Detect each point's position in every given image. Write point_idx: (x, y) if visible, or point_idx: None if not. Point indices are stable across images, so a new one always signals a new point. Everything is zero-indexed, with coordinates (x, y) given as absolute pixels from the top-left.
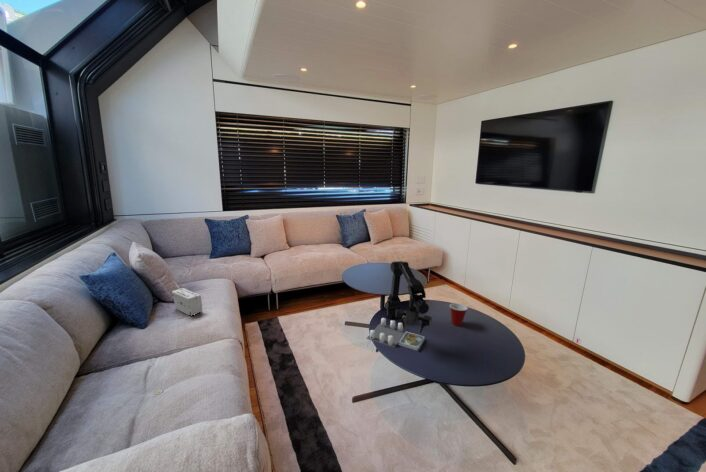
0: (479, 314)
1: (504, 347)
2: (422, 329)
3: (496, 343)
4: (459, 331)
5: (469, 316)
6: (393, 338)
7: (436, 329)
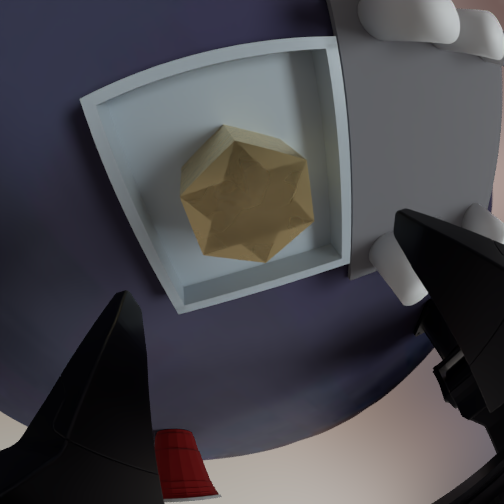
0: None
1: (5, 405)
2: (63, 374)
3: (25, 412)
4: None
5: None
6: (407, 7)
7: (202, 391)
